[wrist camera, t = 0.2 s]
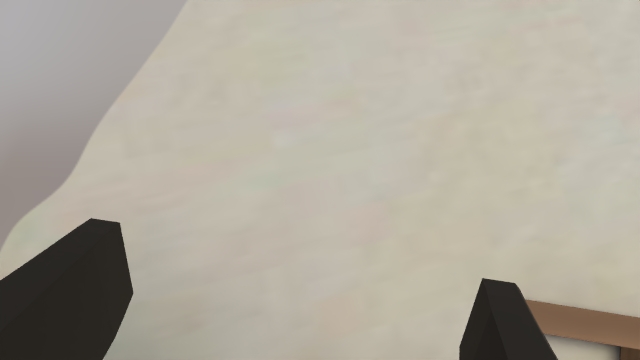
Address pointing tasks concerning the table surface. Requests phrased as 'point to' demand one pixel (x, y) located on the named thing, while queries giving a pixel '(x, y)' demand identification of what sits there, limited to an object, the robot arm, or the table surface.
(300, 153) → the table surface
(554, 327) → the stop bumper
